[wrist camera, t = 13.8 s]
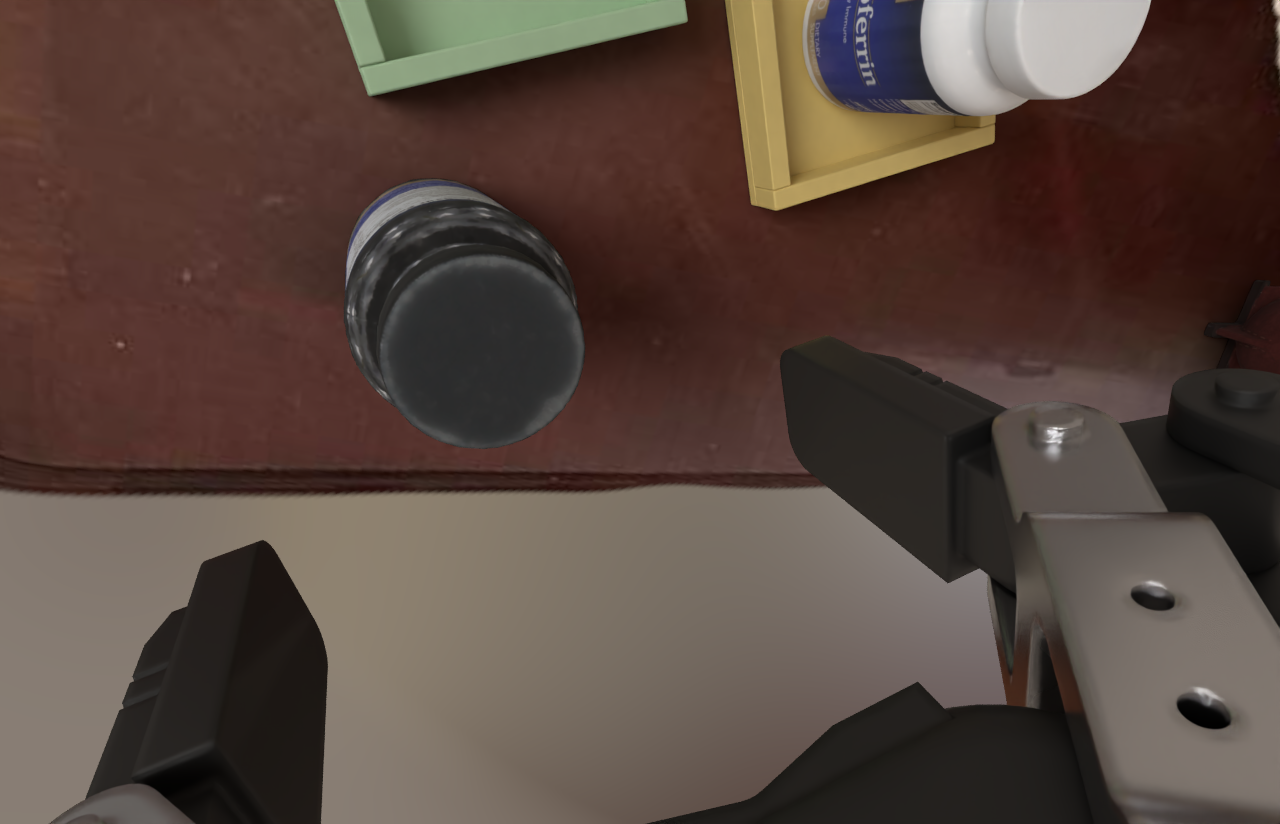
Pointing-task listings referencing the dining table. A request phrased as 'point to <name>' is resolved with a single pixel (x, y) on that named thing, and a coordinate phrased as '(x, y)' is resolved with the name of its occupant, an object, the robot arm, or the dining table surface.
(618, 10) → the green tray
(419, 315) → the pill bottle
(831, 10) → the pill bottle
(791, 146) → the yellow tray
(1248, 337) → the mate gourd
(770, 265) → the dining table surface
